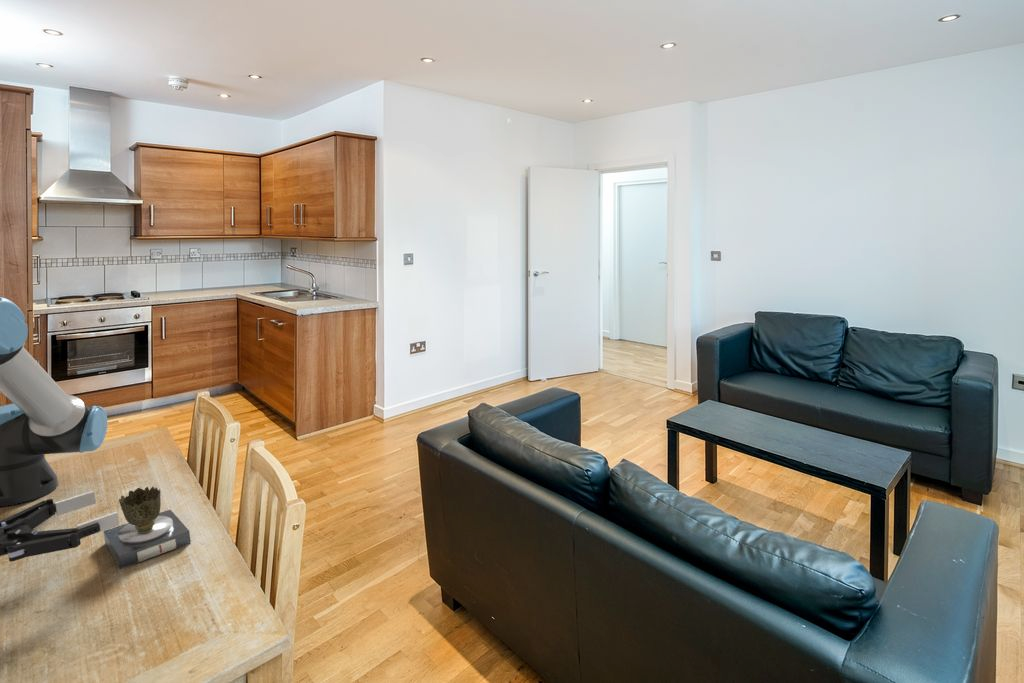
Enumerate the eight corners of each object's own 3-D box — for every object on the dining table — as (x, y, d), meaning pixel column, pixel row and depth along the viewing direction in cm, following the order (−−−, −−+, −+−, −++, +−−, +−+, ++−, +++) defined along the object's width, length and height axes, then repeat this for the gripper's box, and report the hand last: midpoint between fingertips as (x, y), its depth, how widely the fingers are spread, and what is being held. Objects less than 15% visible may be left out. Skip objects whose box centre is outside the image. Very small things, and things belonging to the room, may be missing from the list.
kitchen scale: (105, 543, 121) (102, 527, 120) (171, 521, 130) (169, 506, 129) (121, 570, 111) (119, 553, 111) (192, 544, 121) (190, 528, 120)
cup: (145, 539, 116) (139, 505, 114) (116, 535, 117) (110, 501, 115) (173, 520, 123) (168, 488, 121) (145, 516, 124) (140, 484, 122)
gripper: (-47, 548, 105) (87, 504, 121) (-17, 603, 90) (131, 545, 107) (-55, 512, 103) (82, 473, 120) (-26, 562, 89) (126, 510, 105)
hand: (105, 507), depth 113 cm, fingers open, 13 cm apart
